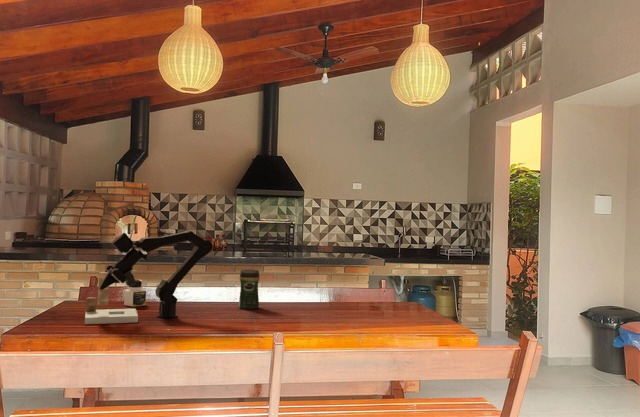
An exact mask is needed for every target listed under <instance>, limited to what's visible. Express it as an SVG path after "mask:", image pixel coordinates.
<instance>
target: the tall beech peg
mask: <svg viewBox="0 0 640 417" xmlns="http://www.w3.org/2000/svg"><path fill="white" fill-rule="evenodd" d="M107 274H108V272H105V271H100V272H98V286H97V306H108V305H109V294H110V293H109V292H110V286H108V287H106V288H105V289H103V290H101V289H100V287H101V285H102V283H103V281H104V279H105V277H106V276H107Z"/></svg>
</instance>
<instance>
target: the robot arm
mask: <svg viewBox="0 0 640 417" xmlns="http://www.w3.org/2000/svg"><path fill="white" fill-rule="evenodd" d="M187 241H188V242H189V243H191V245H193V248H192V250H191V252H190V254H189V256H188V257H187V258H185V260H184V261H183V263H182V264H181V265H180V266H178V268H177V269H176V271H174V273H173V274H172V275H171V276H170V277H169V278H168V279H167V280H165V279H162V280H161V281H160V283H158V284H157V285H156V288H155V296H156V297H157V298H158V299H159V301H160V302H159V310H158V315H157V316H156V318H160V319H161V318H162V319H167V320H169V319H174V318H178V317H179V315H177V314H176V313H177V310H176V309H177V302H178V298H177V297H176V296H175V295H174V294H175V292H176V290H177V287H178V285H179V284H180V283H181V281H182V280H183V279H184V278H185V277H186V276H187V275H188V273H189V272H190V271H191V270H192V269H193V267H194V266H195V265H196V264H197V263H198V262H199V260H201V259H203V258H204V257H206V256H207V255H208V254H209V253H211V252H212V251H213V248H214V246H213V243H212V241H211V240H208V239H204V238H202V237H201V236H199V235H197V234H196V233H194V232H193V231H192V230H185V231H182V232H178V233H172V234H169V235H168V234H167V235H163V236H149V237H146V236H145V237H144V236H143V237H141V238H140V239H139V240H132V239H131V238H130V237H129V236H128V234H127V233H126V232H123V233H122V234H120V235H119V236H117V237H115V238H114V239H113V240H112V241H111V245H112V246H113V247H114V248H115V249H116V250H117V251H118V252H119V253H120V254H124V255H123V256H122V257H120V258H119V260H118V261H117V262H116V263H115V264H107V265H106V266H105V267H104V268H105V270H104V272H108V274H107V276H106V277H105V279H104V281H103V283H102V285H101V287H100V289H101V290H103V289H105V288H106V287H108V286H109V287H110V286H111V285H114V284H120V283H121V284H124V283H125V284H126V286H127V287H129V286H131V285H134V284H136V281H135V277H136V276H134V273H132V271H133V270H134V268H133V267H135V265H137V263H138V262H140V261H141V260H143V261H145V262H146V261H147V262H148V259H147V258H148V254H147V253H150V252H153V251H155V250H157V249H159V248H161V247H164V246H169V245H173V244H177V243H183V242H187ZM136 248H138V249H136ZM144 252H146V253H144Z"/></svg>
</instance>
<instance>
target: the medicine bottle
mask: <svg viewBox="0 0 640 417" xmlns="http://www.w3.org/2000/svg"><path fill="white" fill-rule="evenodd" d="M134 279H135V278H134ZM135 281H136V284H134V285H131V286H128V289H124V297H123V298H124V302H123V303H124V306H128V307H134V308H136V307H142V306H146V302H147V301H146V300H147V290H146V289H143V280H141V279H135Z"/></svg>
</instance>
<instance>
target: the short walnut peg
mask: <svg viewBox="0 0 640 417" xmlns="http://www.w3.org/2000/svg"><path fill="white" fill-rule="evenodd" d="M96 310H97V297H96V296H95V297H94V296H89V297H86V298H85V313H86V312H95V311H96Z"/></svg>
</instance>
